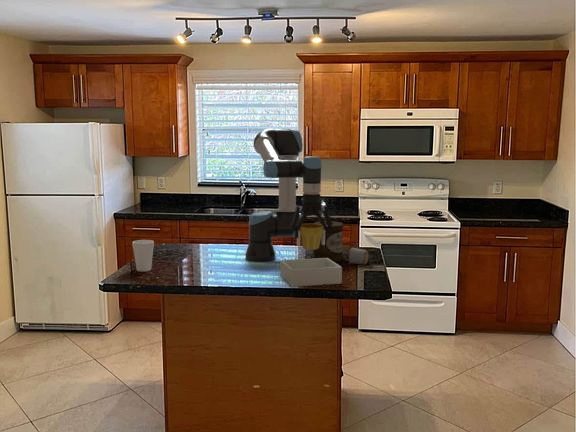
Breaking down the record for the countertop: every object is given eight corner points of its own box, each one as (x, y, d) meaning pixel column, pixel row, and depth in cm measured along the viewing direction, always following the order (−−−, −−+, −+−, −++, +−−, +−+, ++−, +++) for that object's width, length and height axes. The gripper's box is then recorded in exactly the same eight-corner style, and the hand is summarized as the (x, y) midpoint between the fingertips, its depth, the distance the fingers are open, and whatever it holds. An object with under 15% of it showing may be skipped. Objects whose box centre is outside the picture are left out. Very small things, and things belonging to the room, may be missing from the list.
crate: (280, 275, 239) (280, 260, 238) (327, 273, 245) (327, 257, 244) (291, 286, 222) (291, 270, 221) (341, 283, 228) (341, 267, 227)
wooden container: (333, 263, 264) (335, 218, 261) (307, 259, 272) (308, 216, 269) (347, 257, 277) (348, 215, 273) (321, 254, 284) (322, 212, 281)
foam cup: (158, 268, 250) (157, 240, 248) (147, 273, 241) (146, 244, 239) (140, 266, 253) (140, 239, 251) (128, 271, 244) (128, 242, 242)
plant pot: (306, 251, 224) (306, 228, 223) (294, 247, 233) (294, 224, 232) (327, 249, 229) (327, 226, 228) (315, 245, 238) (315, 223, 237)
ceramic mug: (364, 266, 259) (365, 250, 258) (348, 264, 262) (348, 248, 261) (370, 262, 268) (371, 247, 267) (354, 260, 272) (355, 245, 271)
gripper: (287, 194, 221) (287, 247, 225) (340, 193, 227) (339, 245, 231) (283, 192, 229) (282, 244, 232) (334, 192, 235) (333, 242, 238)
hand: (310, 245), depth 231 cm, fingers closed on plant pot, 10 cm apart
